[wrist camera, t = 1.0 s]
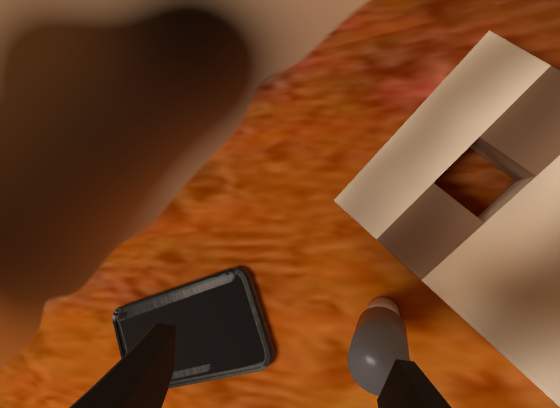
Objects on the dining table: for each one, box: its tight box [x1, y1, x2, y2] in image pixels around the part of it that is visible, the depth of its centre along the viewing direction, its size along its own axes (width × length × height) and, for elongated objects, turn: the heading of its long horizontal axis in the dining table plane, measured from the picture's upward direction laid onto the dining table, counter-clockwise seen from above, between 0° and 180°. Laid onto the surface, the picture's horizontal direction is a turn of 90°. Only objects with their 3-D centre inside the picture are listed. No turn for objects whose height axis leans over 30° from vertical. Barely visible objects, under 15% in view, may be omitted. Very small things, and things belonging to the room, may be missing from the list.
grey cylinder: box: [347, 297, 410, 396], centre depth 16 cm, size 3×3×7 cm
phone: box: [113, 267, 275, 388], centre depth 25 cm, size 8×1×15 cm
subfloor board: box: [334, 31, 560, 407], centre depth 15 cm, size 16×12×2 cm
